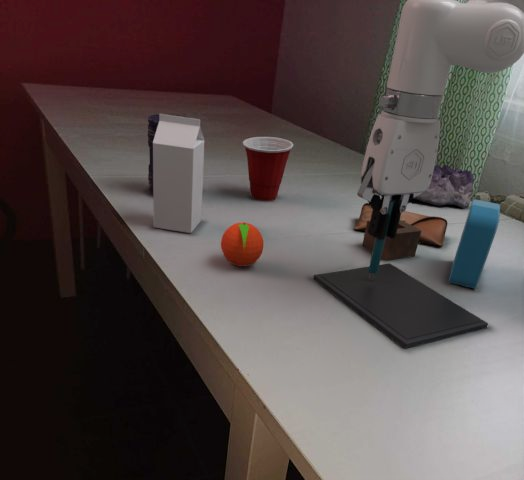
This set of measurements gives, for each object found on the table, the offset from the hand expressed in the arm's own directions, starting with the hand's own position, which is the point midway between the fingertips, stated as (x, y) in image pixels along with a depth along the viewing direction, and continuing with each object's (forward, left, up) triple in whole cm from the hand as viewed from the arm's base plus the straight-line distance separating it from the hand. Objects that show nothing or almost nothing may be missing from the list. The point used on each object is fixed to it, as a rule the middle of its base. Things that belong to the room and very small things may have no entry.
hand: (381, 235), depth 82 cm
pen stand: (-13, -11, -8) cm, 19 cm away
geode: (-46, -35, -9) cm, 58 cm away
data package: (-19, +2, -9) cm, 21 cm away
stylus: (0, 0, -8) cm, 8 cm away
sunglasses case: (-22, -18, -9) cm, 29 cm away
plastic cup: (-5, -45, -9) cm, 46 cm away
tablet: (0, +6, -8) cm, 11 cm away
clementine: (+17, -13, -9) cm, 23 cm away
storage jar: (+14, -52, -9) cm, 54 cm away
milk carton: (+20, -33, -9) cm, 39 cm away
